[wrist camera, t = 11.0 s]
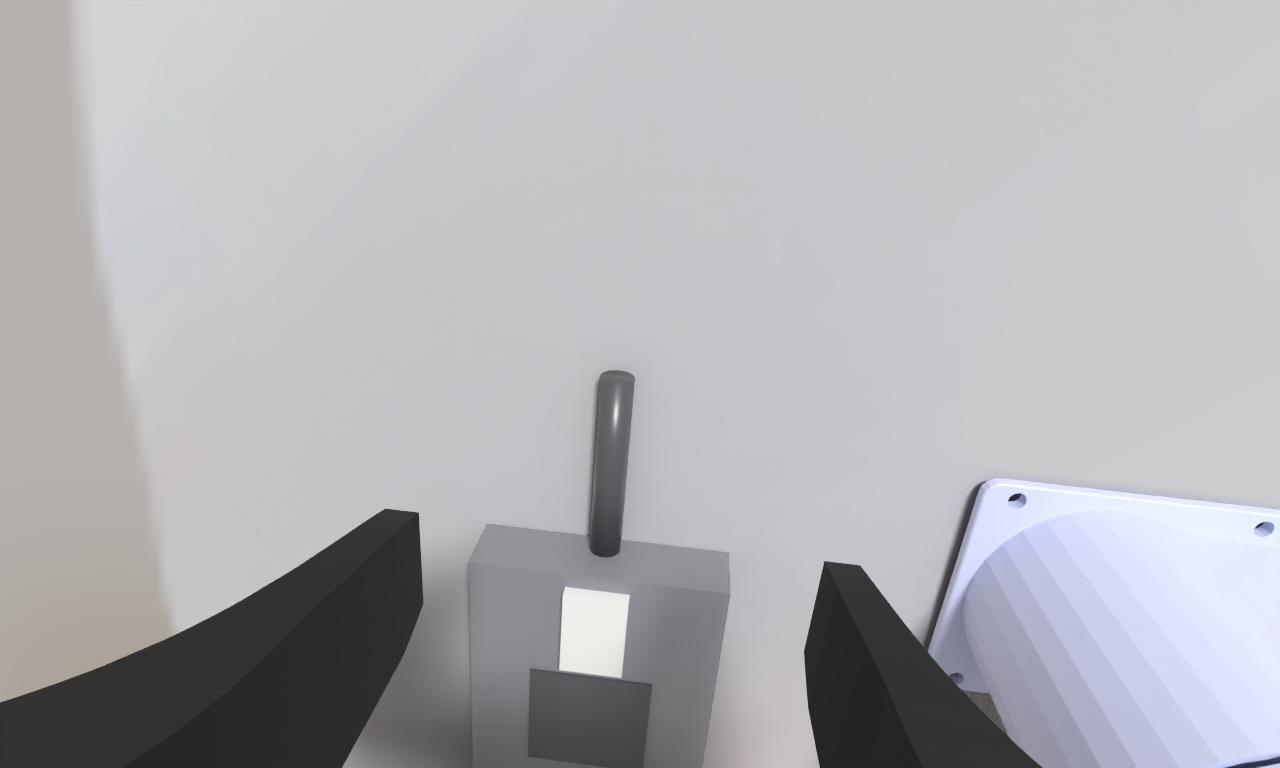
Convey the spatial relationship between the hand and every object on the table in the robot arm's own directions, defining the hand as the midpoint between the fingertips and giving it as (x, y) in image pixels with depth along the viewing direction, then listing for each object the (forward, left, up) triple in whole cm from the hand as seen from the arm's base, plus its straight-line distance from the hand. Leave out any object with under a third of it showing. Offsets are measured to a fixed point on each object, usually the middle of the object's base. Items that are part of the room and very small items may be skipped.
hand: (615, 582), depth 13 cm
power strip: (+1, +12, -9) cm, 15 cm away
